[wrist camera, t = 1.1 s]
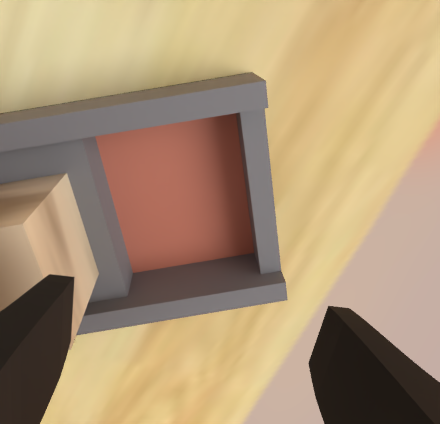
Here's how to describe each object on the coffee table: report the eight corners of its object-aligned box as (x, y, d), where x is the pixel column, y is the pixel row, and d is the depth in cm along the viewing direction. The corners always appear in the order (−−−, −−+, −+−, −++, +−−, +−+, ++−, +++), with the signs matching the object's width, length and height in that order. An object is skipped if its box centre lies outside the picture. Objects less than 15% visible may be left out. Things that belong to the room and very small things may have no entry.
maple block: (-8, 291, 19) (-69, 372, 15) (-52, 192, 17) (-140, 250, 13) (99, 273, 19) (70, 349, 15) (66, 172, 17) (22, 224, 13)
